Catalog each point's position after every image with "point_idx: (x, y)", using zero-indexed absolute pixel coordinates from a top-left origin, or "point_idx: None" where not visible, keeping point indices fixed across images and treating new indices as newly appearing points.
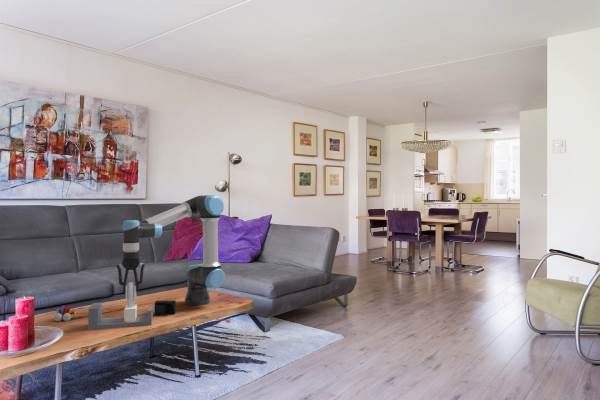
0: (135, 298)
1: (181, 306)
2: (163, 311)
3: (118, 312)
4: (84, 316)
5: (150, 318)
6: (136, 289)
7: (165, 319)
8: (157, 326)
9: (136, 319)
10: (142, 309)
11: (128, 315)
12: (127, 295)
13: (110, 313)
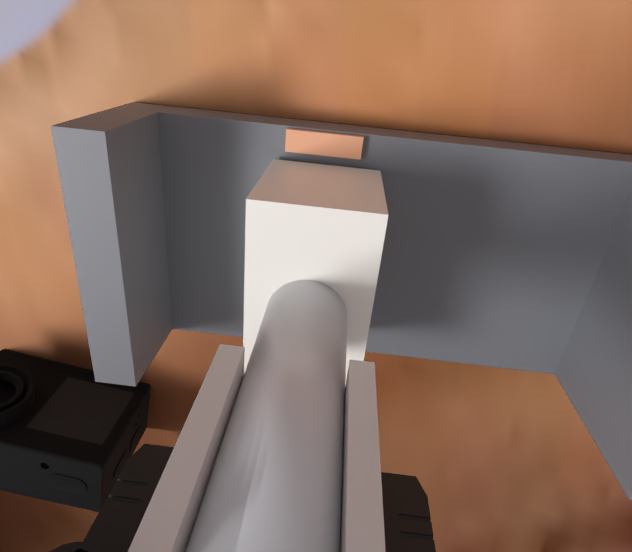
0: (222, 344)
1: (5, 511)
2: (68, 387)
3: None
4: (623, 533)
5: (110, 111)
6: (155, 481)
7: (41, 245)
8: (65, 23)
9: None
10: None
11: (338, 184)
12: (344, 425)
13: (452, 533)
